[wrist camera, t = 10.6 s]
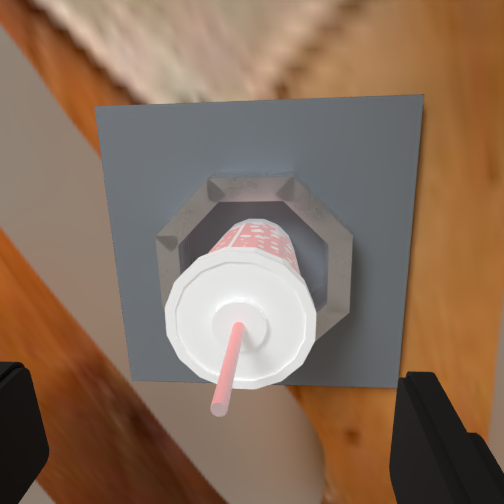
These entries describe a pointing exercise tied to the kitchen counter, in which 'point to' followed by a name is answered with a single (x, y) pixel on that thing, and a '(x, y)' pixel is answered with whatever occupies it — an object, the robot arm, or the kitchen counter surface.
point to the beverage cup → (242, 312)
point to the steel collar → (265, 189)
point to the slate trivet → (270, 213)
